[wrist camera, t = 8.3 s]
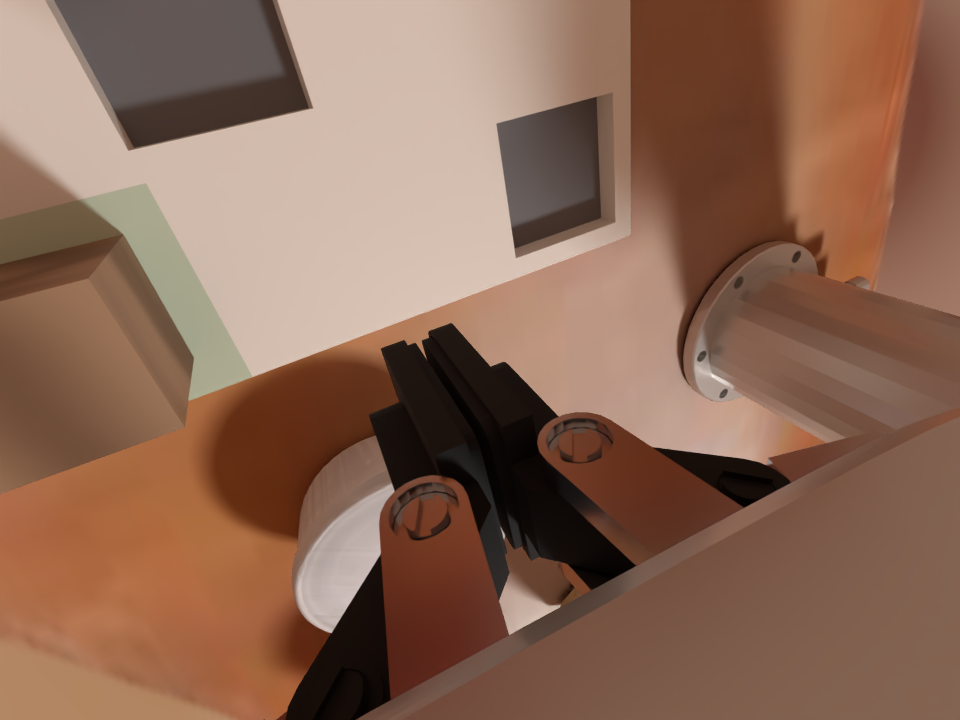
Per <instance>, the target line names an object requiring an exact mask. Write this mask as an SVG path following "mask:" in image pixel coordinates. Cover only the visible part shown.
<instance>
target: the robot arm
mask: <svg viewBox="0 0 960 720" xmlns="http://www.w3.org/2000/svg"><path fill="white" fill-rule="evenodd" d="M869 288H870V283H869V282H868V280H867V279H866V278H864V277H861V276H856V277H854V278H852V279H850V280H848V281H846V282H844V283H843V282H840V281H837V280H833V279H830V278H826V277H823V276H819V275H818V269H817V265H816V261H815V259H814V258H813V256H812V254H811V252H809V251H808V250H807V249H806V248H805V247H803V246H800V245H797V244H794V243H790V242H785V241H773V242H767V243H764V244H762V245H759V246H757V247H755V248H753V249H751V250H750V251H748V252H746V253H745V254H743V255H742V256H740V257H739V258H738V259H737V260H735V261H734V262H733V263H732V264H731V265H730V266H729V267H727V268H726V269H725V271H724V272H723V273H722V274H721V275H720V276H719V277H718V278H717V279H716V281H715V282H714V283H713V285H712V286H711V287H710V289H709V290H708V292H707V293H706V294H705V296H704V297H703V299H702V301H701V303H700V305H699V307H698V308H697V310H696V312H695V314H694V317H693V319H692V322H691V324H690V327H689V329H688V333H687V337H686V341H685V346H684V355H683V363H684V372H685V376H686V379H687V382H688V383H689V385H690V386H691V388H692V389H693V390H695V391H696V392H697V393H699V394H700V395H702V396H703V397H705V398H707V399H709V400H711V401H716V402H724V401H731V400H734V399H737V398H740V397H742V396H745V397H747V398H749V399H750V400H752V401H754V402H756V403H757V404H759V405H761V406H763V407H764V408H766V409H768V410H770V411H771V412H773V413H775V414H777V415H778V416H780V417H782V418H784V419H785V420H787V421H789V422H791V423H792V424H794V425H796V426H798V427H800V428H801V429H803V430H805V431H807V432H808V433H810V434H812V435H814V436H815V437H817V438H819V439H821V440H822V441H824V442H826V443H825V444H821V445H817V446H813V447H809V448H806V449H802V450H798V451H794V452H790V453H786V454H782V455H778V456H774V457H770V458H768V460H767V465H764V464H762V463H759V462H755V461H751V460H746V459H740V458H732V457H724V456H717V455H709V454H701V453H693V452H685V451H677V450H670V449H662V448H654V447H651V446H649V445H648V444H646V443H645V442H643V441H642V440H640V439H639V438H637V437H636V436H634V435H633V434H631V433H630V432H628V431H626V430H625V429H623V428H622V427H620V426H619V425H617V424H616V423H614V422H613V421H611V420H609V419H607V418H605V417H603V416H601V415H597V414H593V413H586V412H575V413H570V414H565V415H562V416H559V417H558V416H557V414H556V413H555V412H554V411H553V410H552V409H551V408H550V407H549V406H548V405H547V404H546V403H545V402H544V401H543V400H542V399H541V398H540V397H539V396H538V395H537V394H536V393H535V392H534V391H533V390H532V389H531V388H530V387H529V385H528V384H527V383H526V382H525V381H524V380H523V379H522V378H521V377H520V376H519V375H518V374H517V373H516V372H515V371H514V370H513V369H512V368H511V367H510V366H509V365H508V364H507V363H506V362H502V363H499V364H496V365H494V366H491V367H490V366H489V365H488V363H487V362H486V361H485V360H484V359H483V358H482V357H481V356H480V354H479V353H478V352H477V351H476V350H475V349H474V348H473V346H472V345H471V344H470V343H469V342H468V341H467V340H466V339H465V337H464V336H463V335H462V334H461V333H460V332H459V331H458V330H457V328H456V327H455V326H454V325H453V324H452V323H450V324H448V325H445V326H442V327H439V328H436V329H434V330H431V331H429V333H428V334H429V338H427V339H424V340H422V344H423V348H424V351H425V355H426V358H427V359H426V358H425V356H424V355H423V353H422V352H421V350H420V349H419V347H418V346H417V344H416V343H413V344H411V345H407V344H406V342H405V341H404V340H403V341H400V342H398V343H395V344H392V345H389V346H386V347H384V348H381V351H382V354H383V357H384V360H385V363H386V365H387V368H388V371H389V374H390V377H391V379H392V382H393V385H394V388H395V391H396V394H397V396H398V399H399V403H397V404H394V405H392V406H389V407H387V408H384V409H381V410H379V411H376V412H374V413H371V414H369V417H370V420H371V423H372V426H373V429H374V432H375V435H376V438H377V441H378V444H379V447H380V450H381V453H382V456H383V459H384V462H385V465H386V467H387V470H388V473H389V476H390V479H391V482H392V485H393V488H394V493H393V494H392V495H391V496H390V497H389V498H388V499H387V501H386V502H385V504H384V506H383V508H382V510H381V512H380V519H379V533H380V548H381V554H380V556H379V557H378V559H377V561H376V562H375V564H374V566H373V567H372V569H371V570H370V572H369V574H368V575H367V577H366V578H365V580H364V582H363V583H362V585H361V586H360V588H359V590H358V591H357V593H356V594H355V596H354V598H353V599H352V601H351V602H350V604H349V606H348V607H347V609H346V611H345V612H344V614H343V615H342V617H341V619H340V620H339V622H338V623H337V625H336V627H335V628H334V630H333V631H332V633H331V635H330V636H329V638H328V639H327V641H326V643H325V644H324V646H323V647H322V649H321V651H320V652H319V654H318V655H317V657H316V659H315V660H314V662H313V664H312V665H311V667H310V668H309V670H308V672H307V673H306V675H305V676H304V678H303V680H302V681H301V683H300V684H299V686H298V688H297V690H296V692H295V694H294V696H293V698H292V700H291V702H290V704H289V706H288V710H287V712H285V713H284V714H283V715H282V716H280V717H279V718H278V719H277V720H960V317H959V316H956V315H953V314H949V313H946V312H942V311H939V310H936V309H932V308H929V307H925V306H922V305H918V304H915V303H912V302H908V301H905V300H901V299H898V298H895V297H891V296H888V295H884V294H881V293H877V292H874V291H871V290H869ZM501 528H502V530H503V532H504V534H505V535H506V537H507V539H508V541H509V543H510V544H511V546H512V547H513V549H517V548H519V547H521V546H523V548H524V550H525V551H526V553H527V555H528V556H529V558H530V560H531V561H532V560H534V559H535V558H537V557H539V556H540V557H541V558H546V559H550V560H554V561H557V562H558V566H559V568H560V570H561V571H562V573H563V574H564V576H565V577H566V578H567V579H568V580H569V582H570V583H571V584H572V585H573V586H574V587H575V588H576V589H577V591H578V592H579V593H580V594H581V595H582V596H580V597H579V598H577V599H575V600H573V601H571V602H569V603H568V604H566V605H564V606H562V607H560V608H558V609H556V610H555V611H553V612H551V613H549V614H547V615H545V616H544V617H542V618H540V619H538V620H536V621H534V622H533V623H531V624H529V625H527V626H525V627H523V628H522V629H520V630H518V631H516V632H514V633H512V634H511V635H509V633H508V630H507V626H506V623H505V620H504V616H503V613H502V609H501V606H500V603H499V599H500V596H501V594H502V591H503V588H504V586H505V583H506V580H507V578H508V575H509V570H508V566H507V563H506V559H505V554H507V550H506V546H505V542H504V538H503V534H502V531H501ZM264 720H265V719H264Z"/></svg>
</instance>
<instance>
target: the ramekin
mask: <svg viewBox="0 0 960 720" xmlns="http://www.w3.org/2000/svg"><path fill="white" fill-rule="evenodd" d="M393 493H394V488H393V485H392V482H391V479H390V476H389V473H388V470H387V467H386V465H385V462H384V459H383V456H382V453H381V450H380V447H379V444H378V441H377V438H376V436H373V437H370V438H367V439H365V440H362V441H360V442H358V443H356V444H354V445H352V446H350V447H348V448H347V449H345V450H344V451H342V452H341V453H339V454H338V455H337V456H335V457H334V458H333V459H332V460H331V461H330V462H329V463H328V464H327V465H325V466H324V467H323V468H322V470H321V471H320V472H319V473H318V475H317V476H316V477H315V478H314V480H313V482H312V484H311V485H310V486H309V488H308V491H307V493H306V495H305V497H304V500H303V505H302V507H301V513H300V523H299V534H298V545H297V552H296V554H295V558H294V562H293V568H292V587H293V594H294V598H295V602H296V604H297V607H298V609H299V611H300V612H301V614H302V615H303V616H304V617H305V619H307V620H308V621H309V622H310V623H311V624H313V625H314V626H316V627H317V628H319V629H322V630H323V631H326V632H329V633H332V631H333V630H334V628H335V627H336V625H337V623H338V622H339V620H340V619H341V617H342V615H343V614H344V612H345V611H346V609H347V607H348V606H349V604H350V602H351V601H352V599H353V598H354V596H355V594H356V593H357V591H358V590H359V588H360V586H361V585H362V583H363V582H364V580H365V578H366V577H367V575H368V574H369V572H370V570H371V569H372V567H373V566H374V564H375V562H376V561H377V559H378V557H379V556H380V554H381V548H380V533H379V519H380V512H381V510H382V508H383V506H384V504H385V502H386V501H387V499H388V498H389V497H390V496H391V495H392V494H393ZM501 531H502V534H503V538H505V534H504V532H503V530H502V528H501Z"/></svg>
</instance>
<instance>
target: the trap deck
mask: <svg viewBox="0 0 960 720" xmlns="http://www.w3.org/2000/svg"><path fill="white" fill-rule="evenodd" d="M119 235H124V236H125V238H126V239H127V241H128V243H129V245H130V246H131V248H132V250H133V252H134V253H135V255H136V257H137V259H138V260H139V262H140V264H141V266H142V267H143V269H144V271H145V273H146V274H147V276H148V278H149V280H150V282H151V283H152V285H153V287H154V289H155V290H156V292H157V294H158V296H159V297H160V299H161V301H162V303H163V304H164V306H165V308H166V310H167V311H168V313H169V315H170V317H171V318H172V320H173V322H174V324H175V325H176V327H177V329H178V331H179V332H180V334H181V336H182V338H183V339H184V341H185V343H186V345H187V346H188V348H189V350H190V352H191V353H192V355H193V357H194V362H193V370H192V377H191V384H190V392H189V399H188V401H190V400H192V399H195V398H198V397H200V396H203V395H206V394H208V393H211V392H214V391H216V390H219V389H222V388H224V387H227V386H230V385H232V384H235V383H238V382H240V381H243V380H246V379H248V378H251V377H254V376H256V375H259V374H262V373H264V372H267V371H270V370H272V369H275V368H278V367H280V366H283V365H286V364H288V363H291V362H294V361H296V360H299V359H302V358H304V357H307V356H310V355H312V354H315V353H318V352H320V351H323V350H326V349H328V348H331V347H334V346H337V345H339V344H342V343H345V342H347V341H350V340H353V339H355V338H358V337H361V336H363V335H366V334H369V333H371V332H374V331H377V330H379V329H382V328H385V327H387V326H390V325H393V324H395V323H398V322H401V321H403V320H406V319H409V318H411V317H414V316H417V315H419V314H422V313H425V312H427V311H430V310H433V309H435V308H438V307H441V306H443V305H446V304H449V303H451V302H454V301H457V300H459V299H462V298H465V297H467V296H470V295H473V294H475V293H478V292H481V291H483V290H486V289H489V288H491V287H494V286H497V285H499V284H502V283H505V282H507V281H510V280H513V279H515V278H518V277H521V276H523V275H526V274H529V273H531V272H534V271H537V270H539V269H542V268H545V267H547V266H550V265H553V264H555V263H558V262H561V261H563V260H566V259H569V258H571V257H574V256H577V255H579V254H582V253H585V252H587V251H590V250H593V249H595V248H598V247H601V246H603V245H606V244H609V243H611V242H614V241H617V240H619V239H622V238H625V237H627V236H630V235H631V29H630V0H0V264H4V263H8V262H12V261H16V260H20V259H24V258H29V257H33V256H37V255H41V254H45V253H49V252H53V251H58V250H62V249H66V248H70V247H74V246H78V245H82V244H86V243H91V242H95V241H99V240H103V239H107V238H111V237H115V236H119Z"/></svg>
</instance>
